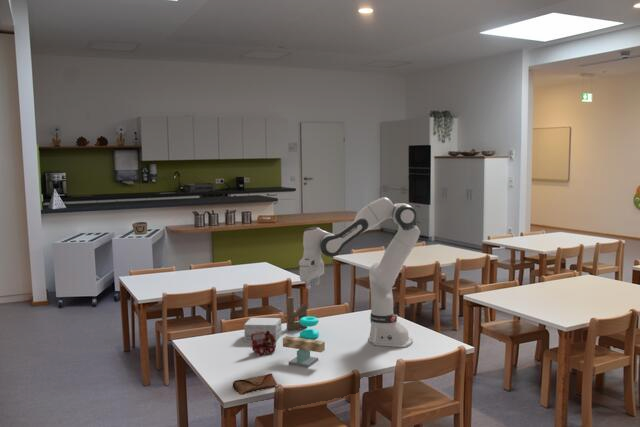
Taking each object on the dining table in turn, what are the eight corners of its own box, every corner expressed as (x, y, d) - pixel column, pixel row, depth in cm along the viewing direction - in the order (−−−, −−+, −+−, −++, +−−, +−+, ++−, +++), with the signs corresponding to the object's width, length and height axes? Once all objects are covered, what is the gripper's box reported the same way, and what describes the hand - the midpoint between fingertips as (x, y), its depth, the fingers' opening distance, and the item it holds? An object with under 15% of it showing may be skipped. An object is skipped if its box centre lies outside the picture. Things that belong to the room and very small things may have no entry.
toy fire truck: (278, 352, 279) (278, 331, 278) (254, 357, 273) (254, 335, 272) (272, 348, 285) (272, 327, 284) (249, 352, 279) (248, 332, 278)
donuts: (321, 316, 303) (314, 321, 294) (321, 335, 304) (314, 340, 295) (304, 315, 307) (296, 320, 298) (304, 333, 308) (296, 338, 299)
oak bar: (282, 346, 267) (282, 338, 267) (286, 344, 270) (286, 336, 270) (321, 352, 258) (321, 343, 258) (324, 350, 261) (324, 341, 261)
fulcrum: (318, 360, 267) (318, 346, 266) (308, 367, 258) (307, 353, 257) (299, 357, 271) (299, 343, 271) (288, 364, 263) (288, 350, 262)
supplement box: (282, 334, 307) (281, 317, 306) (276, 342, 294) (275, 324, 293) (251, 333, 309) (250, 316, 308) (244, 341, 296) (243, 324, 296)
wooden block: (307, 328, 317) (306, 296, 315) (288, 330, 313) (287, 298, 311) (304, 326, 320) (304, 294, 318) (286, 329, 316) (285, 297, 314)
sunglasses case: (239, 395, 229) (236, 378, 232) (234, 398, 235) (231, 382, 237) (280, 386, 238) (276, 370, 240) (275, 389, 244) (271, 373, 246)
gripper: (316, 255, 298) (316, 282, 299) (297, 262, 280) (297, 290, 281) (327, 256, 295) (327, 283, 296) (308, 263, 277) (309, 291, 278)
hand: (312, 286), depth 288 cm, fingers open, 8 cm apart
